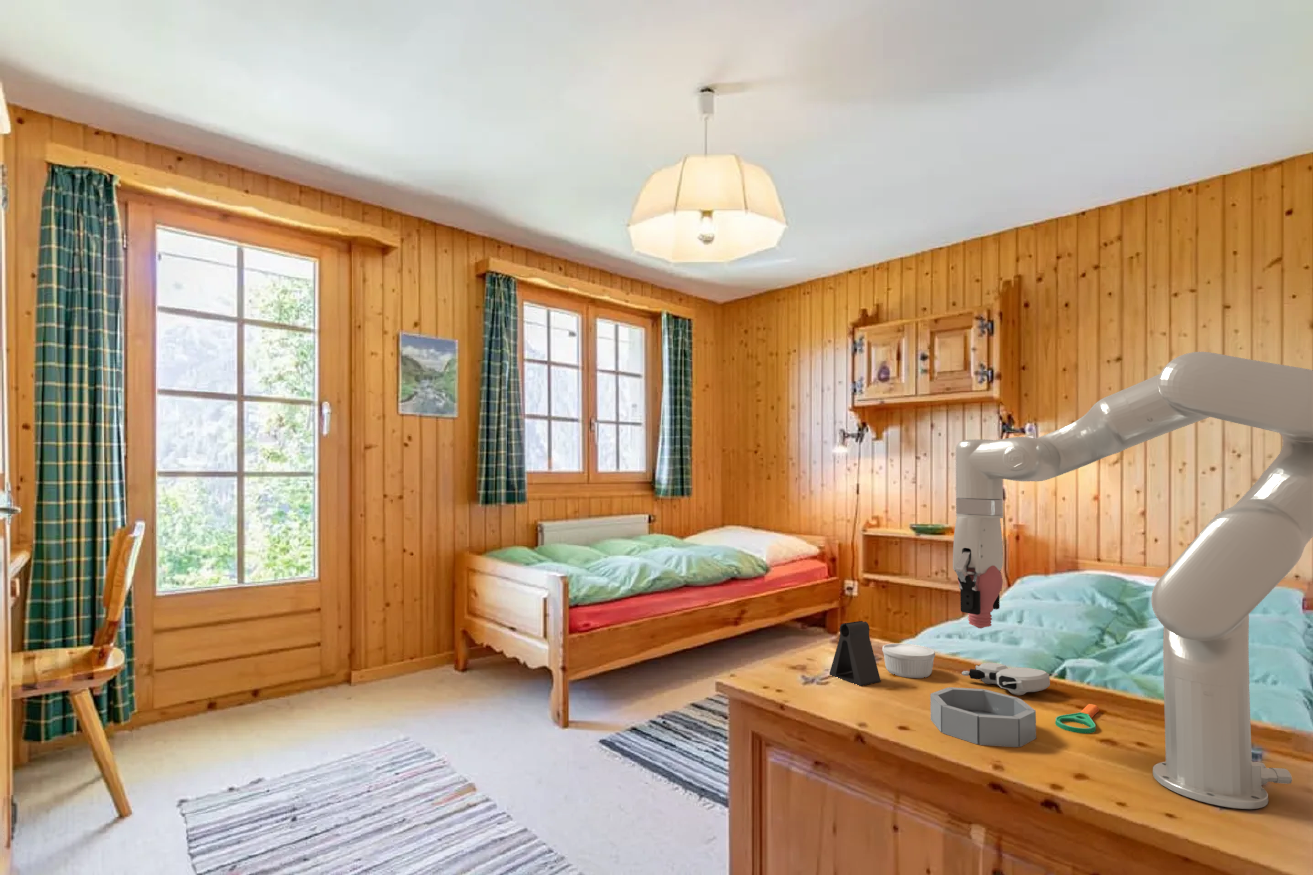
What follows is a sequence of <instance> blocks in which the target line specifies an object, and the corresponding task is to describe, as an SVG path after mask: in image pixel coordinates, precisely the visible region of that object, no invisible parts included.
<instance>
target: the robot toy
mask: <svg viewBox="0 0 1313 875" xmlns="http://www.w3.org/2000/svg"><path fill="white" fill-rule="evenodd" d="M961 675H962V676H965V677H967V676H968V677H969V679H973V680H981V681H982V682H983V683H984V684H987V685H992V684H993V685H997V686H999V687H1000V688H1001V689H1005V690H1007V691H1008V692H1010V693H1011V694H1012V695H1015V696H1023V695H1025V694H1027V693H1036V692H1039V691H1045V690H1046V689H1047V688H1049V687H1050V686H1051V679H1050V676H1054V677H1055V676H1058V675H1059V674H1058V673H1055V672H1054V673H1048V672H1046V671H1045V670H1042V669H1037V668H1031V667H1007V666H1006V665H1004V664H1002V663H1001V664H1000V663H997V662H983V663H981V664H979V665H977V664H976V665H975V668H970V669H969V670H963V671H962V672H961Z"/></svg>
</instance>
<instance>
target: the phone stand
mask: <svg viewBox="0 0 1313 875" xmlns="http://www.w3.org/2000/svg"><path fill="white" fill-rule="evenodd" d="M870 629H871V628H870V625H869V623H868V622H867V621H863V620H858V621H853V622H846V623H845V622H843V623H842V624H840V626H839V639H838V642H837V646H836V649H835V654H834V656H833V660H832V663H831V666H830V670H829V676H830V675H832V676H831V677H833V676H835V677H834V678H836V677H838V678H837V679H839V678H840V679H839V680H841V679H842V681H845V682H848V683H850V684H853V683H854V684H853V685H855V684H857V685H856V686H858V685H859V687H863V685H864V686H867V684H868V685H871V683H873V684H877V683H881V676H880V672H879V668H878V665H877V660H876V657H875V654H874V649H873V646H872V642H871V638H870Z"/></svg>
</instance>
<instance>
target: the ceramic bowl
mask: <svg viewBox="0 0 1313 875" xmlns="http://www.w3.org/2000/svg"><path fill="white" fill-rule="evenodd" d="M1036 713H1037V712H1036V709H1034V708H1033V707H1032V706H1030V705H1029V704H1028V703H1027V702H1025V701H1024V700H1023V699H1022V698H1019V697H1017V696H1012V695H1009V694H1004V693H1001V692H996V691H992V690H989V689H984V688H970V687H969V688H967V687H952V686H951V687H950V686H949V687H945V688H943V689H942V688H941V689H940V690H937V691H935V692H932V693H931V692H930V721H931V722H932V723H933V725H934V726H935V727H936V728H937V729H938V731H939V732H940V733H942V734H944V735H948V736H951V737H953V738H956V739H960V740H963V741H965V742H969V743H972V744H975V745H979V746H988V747H989V746H993V747H1009V748H1010V747H1011V748H1021V747H1023V746H1025V745H1027V744H1029V743H1030V742H1032V741H1034V740H1036V739H1037V718H1036V717H1037V716H1036V715H1037V714H1036Z"/></svg>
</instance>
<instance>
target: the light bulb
mask: <svg viewBox="0 0 1313 875" xmlns="http://www.w3.org/2000/svg"><path fill="white" fill-rule="evenodd" d="M967 571H970V572H975V570H971V569H967ZM1000 572H1001V571H999V570H998V569H997V567H996V566H991V567H989V569H988V570H987V571H986V573H985V574H983V575H980V581H979V586H978V590H977V591H980V606H981V613H980V614H978V615H976V614H970V613H967V615H968V616H967V617H968V619H967V621H968V624H969V625H971V626H973V627H975V628H978V629H984V628H989V627H992V620H993V618H992V616H993V615H992V614H991V613H992V612H993V611H994V609H993V604H994V602H995V600H996V599H997V597H998V595H999V596H1000V593H1001V592H1002V589H1003V583H1004V582H1003V576H1002V573H1000ZM970 577H971V579H972V581H973V579H974V577H973V576H970ZM957 583H958V584H959V581H958V580H957Z"/></svg>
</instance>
